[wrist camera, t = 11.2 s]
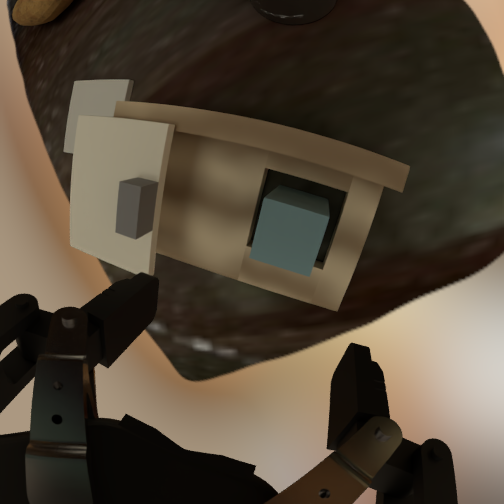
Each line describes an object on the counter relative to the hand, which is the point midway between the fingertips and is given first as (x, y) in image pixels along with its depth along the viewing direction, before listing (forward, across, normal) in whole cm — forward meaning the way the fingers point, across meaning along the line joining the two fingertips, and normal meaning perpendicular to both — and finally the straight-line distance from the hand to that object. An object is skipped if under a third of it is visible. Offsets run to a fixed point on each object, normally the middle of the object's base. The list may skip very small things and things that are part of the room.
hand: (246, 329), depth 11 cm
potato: (+20, +42, -26) cm, 53 cm away
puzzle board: (+20, +5, 0) cm, 21 cm away
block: (+20, 0, 0) cm, 20 cm away
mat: (+20, +27, -6) cm, 34 cm away
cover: (+11, +15, 0) cm, 19 cm away
